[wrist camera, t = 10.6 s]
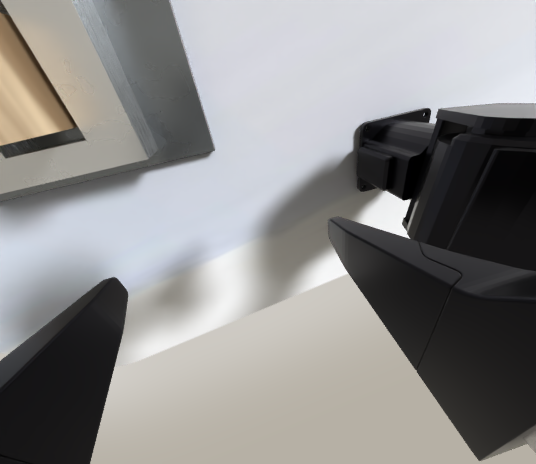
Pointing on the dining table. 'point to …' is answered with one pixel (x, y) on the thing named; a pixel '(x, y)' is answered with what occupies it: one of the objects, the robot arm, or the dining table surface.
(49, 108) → the oak wedge
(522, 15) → the dining table surface
